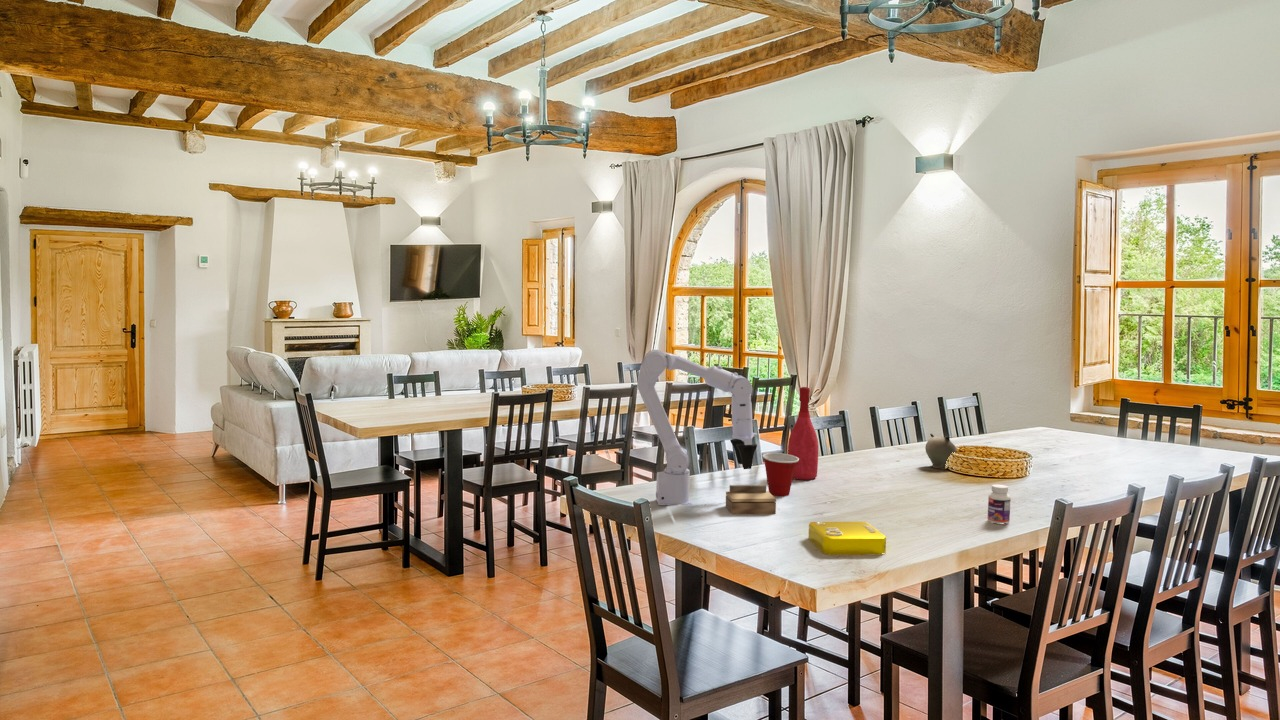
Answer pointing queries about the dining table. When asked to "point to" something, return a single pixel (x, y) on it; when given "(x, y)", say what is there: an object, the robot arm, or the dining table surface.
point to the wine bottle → (804, 441)
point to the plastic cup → (779, 472)
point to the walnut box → (750, 507)
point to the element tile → (846, 538)
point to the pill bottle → (999, 504)
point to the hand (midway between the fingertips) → (744, 466)
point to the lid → (749, 493)
